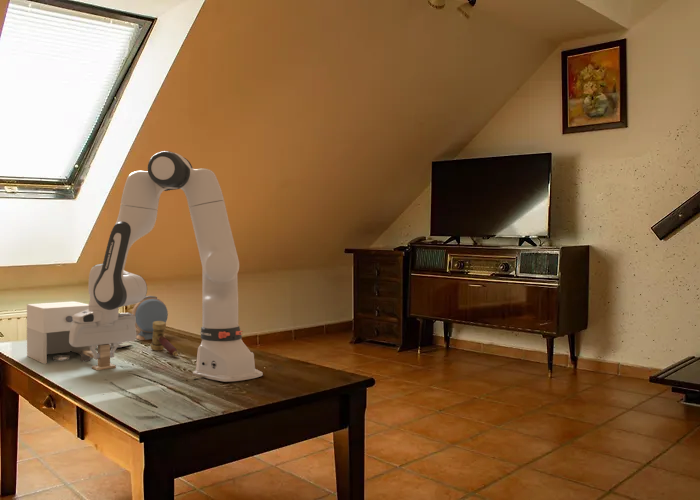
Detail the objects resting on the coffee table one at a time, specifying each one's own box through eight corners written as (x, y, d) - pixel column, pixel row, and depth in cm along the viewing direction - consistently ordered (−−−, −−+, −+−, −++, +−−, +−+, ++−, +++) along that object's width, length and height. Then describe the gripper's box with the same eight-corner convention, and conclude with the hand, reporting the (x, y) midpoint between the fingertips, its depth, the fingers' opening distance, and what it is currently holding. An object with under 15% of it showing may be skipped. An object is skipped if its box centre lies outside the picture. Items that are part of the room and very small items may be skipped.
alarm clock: (161, 336, 268) (161, 294, 268) (171, 338, 261) (171, 295, 260) (128, 339, 259) (128, 295, 259) (137, 342, 252) (137, 297, 251)
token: (71, 360, 216) (71, 356, 216) (55, 362, 213) (55, 358, 212) (66, 358, 220) (66, 354, 220) (51, 359, 216) (51, 356, 216)
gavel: (181, 368, 221) (184, 341, 219) (169, 369, 219) (171, 342, 216) (161, 345, 238) (163, 320, 236) (148, 346, 235) (151, 321, 233)
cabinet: (94, 358, 218) (94, 305, 218) (44, 364, 207) (44, 308, 207) (74, 350, 232) (74, 301, 232) (27, 356, 221) (26, 304, 221)
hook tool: (115, 367, 202) (115, 344, 202) (96, 370, 198) (96, 346, 198) (93, 359, 216) (93, 337, 216) (75, 361, 212) (75, 339, 212)
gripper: (131, 311, 210) (131, 353, 210) (67, 316, 197) (67, 360, 197) (139, 312, 206) (139, 355, 206) (74, 318, 192) (74, 363, 192)
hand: (103, 358), depth 201 cm, fingers closed on hook tool, 3 cm apart
